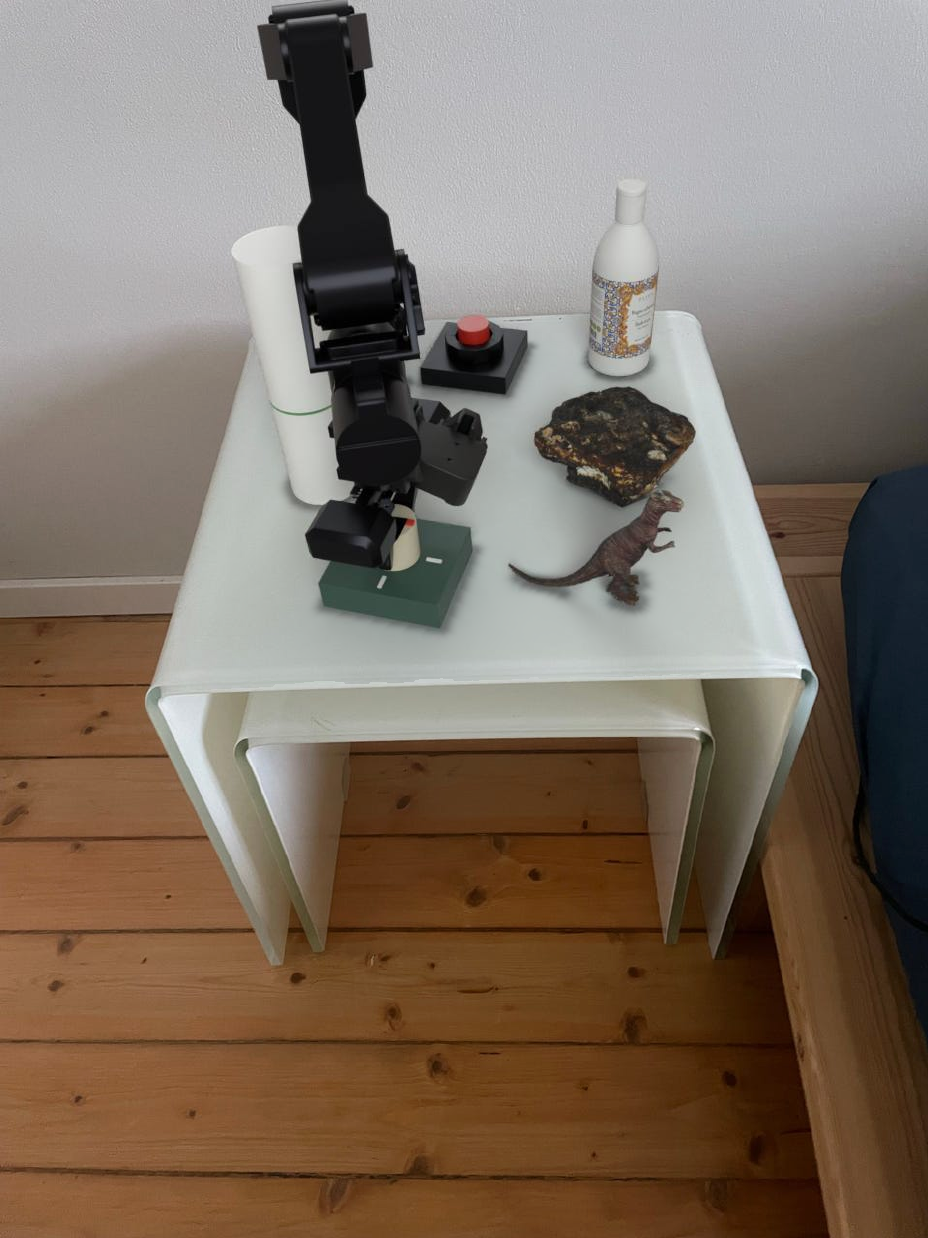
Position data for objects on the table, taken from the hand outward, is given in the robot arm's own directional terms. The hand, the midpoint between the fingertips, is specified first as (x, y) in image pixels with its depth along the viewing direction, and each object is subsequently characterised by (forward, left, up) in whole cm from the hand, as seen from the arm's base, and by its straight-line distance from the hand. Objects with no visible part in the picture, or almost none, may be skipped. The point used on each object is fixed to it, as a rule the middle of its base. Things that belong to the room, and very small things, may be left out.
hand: (395, 550), depth 81 cm
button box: (-3, +35, -4) cm, 35 cm away
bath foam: (+13, +39, -4) cm, 41 cm away
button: (-3, +35, 0) cm, 35 cm away
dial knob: (0, 0, 0) cm, 0 cm away
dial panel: (0, 0, -4) cm, 4 cm away
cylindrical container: (-12, +11, -4) cm, 17 cm away
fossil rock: (+16, +19, -4) cm, 25 cm away
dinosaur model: (+17, +3, -4) cm, 18 cm away
